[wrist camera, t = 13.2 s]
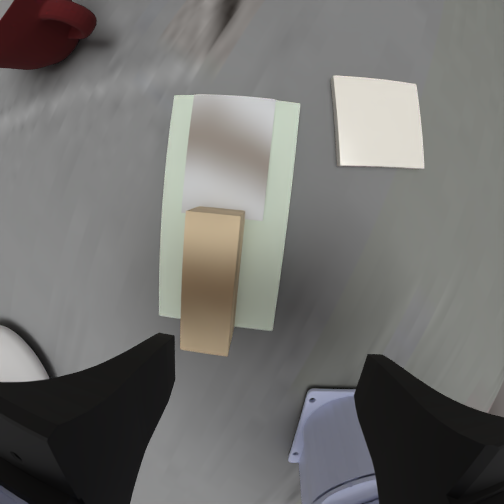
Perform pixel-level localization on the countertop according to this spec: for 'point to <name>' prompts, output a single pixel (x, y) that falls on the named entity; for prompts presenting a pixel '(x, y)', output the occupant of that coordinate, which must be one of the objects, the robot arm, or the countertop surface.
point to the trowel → (220, 211)
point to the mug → (41, 31)
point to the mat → (255, 232)
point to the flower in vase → (18, 359)
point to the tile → (377, 123)
